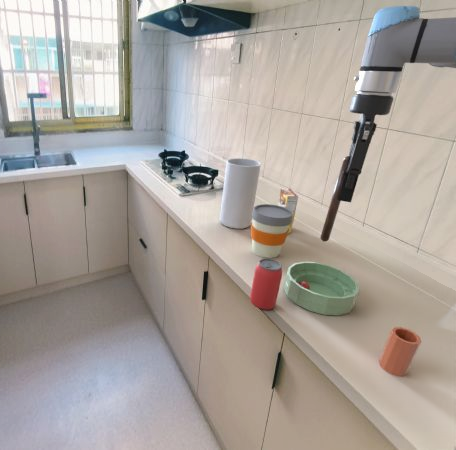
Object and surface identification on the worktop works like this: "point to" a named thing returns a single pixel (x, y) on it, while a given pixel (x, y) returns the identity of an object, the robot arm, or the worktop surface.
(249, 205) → the cylinder vase
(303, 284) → the bead
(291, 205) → the candy box
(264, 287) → the beer can
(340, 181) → the stirring stick
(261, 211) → the reusable coffee cup
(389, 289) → the worktop surface
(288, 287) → the bowl
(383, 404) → the worktop surface
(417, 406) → the worktop surface
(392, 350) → the crock
